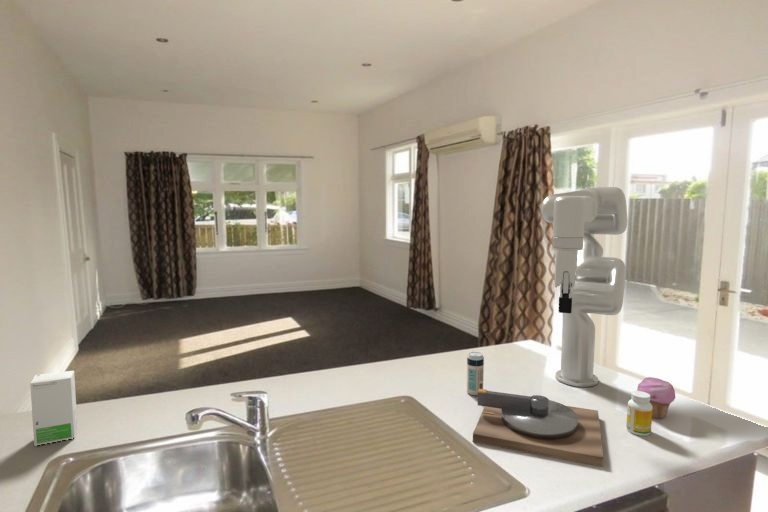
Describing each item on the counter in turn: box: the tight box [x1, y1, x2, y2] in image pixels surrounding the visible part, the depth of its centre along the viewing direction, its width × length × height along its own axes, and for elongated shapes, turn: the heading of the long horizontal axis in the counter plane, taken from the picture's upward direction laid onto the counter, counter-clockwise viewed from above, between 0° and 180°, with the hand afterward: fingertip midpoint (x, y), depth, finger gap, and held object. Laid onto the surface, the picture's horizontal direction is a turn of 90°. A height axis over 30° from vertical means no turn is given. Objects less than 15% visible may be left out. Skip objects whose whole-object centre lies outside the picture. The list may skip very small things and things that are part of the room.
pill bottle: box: [466, 351, 485, 397], centre depth 136 cm, size 5×5×12 cm
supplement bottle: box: [625, 390, 653, 437], centre depth 113 cm, size 5×5×10 cm
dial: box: [477, 388, 578, 439], centre depth 116 cm, size 24×18×6 cm
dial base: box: [472, 405, 604, 467], centre depth 115 cm, size 24×28×2 cm
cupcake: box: [636, 376, 676, 419], centre depth 121 cm, size 9×9×10 cm
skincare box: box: [30, 370, 78, 447], centre depth 112 cm, size 8×7×16 cm
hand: (564, 312), depth 123 cm, fingers closed
